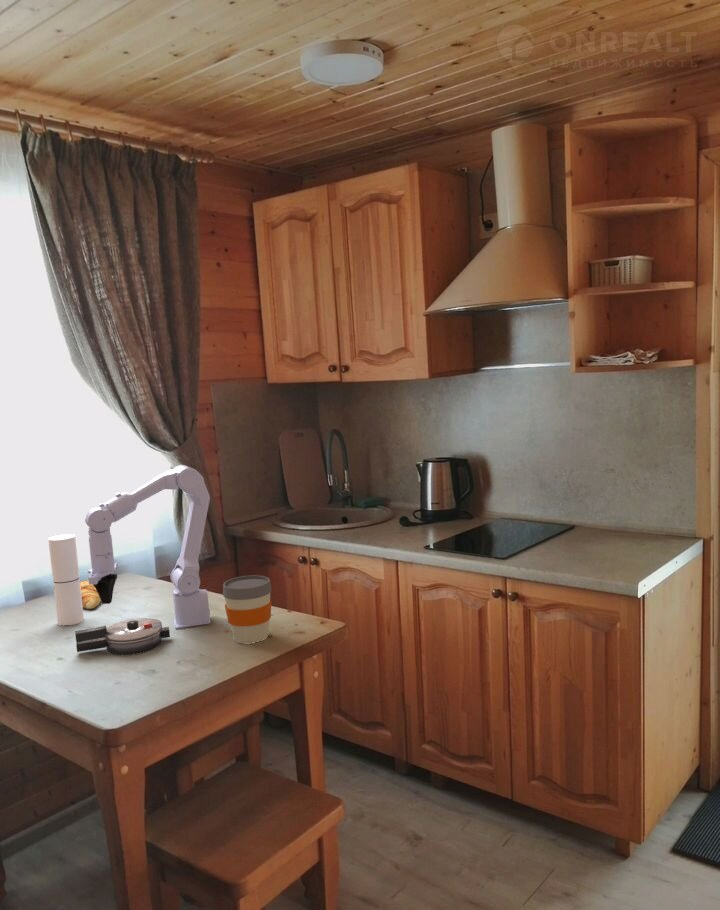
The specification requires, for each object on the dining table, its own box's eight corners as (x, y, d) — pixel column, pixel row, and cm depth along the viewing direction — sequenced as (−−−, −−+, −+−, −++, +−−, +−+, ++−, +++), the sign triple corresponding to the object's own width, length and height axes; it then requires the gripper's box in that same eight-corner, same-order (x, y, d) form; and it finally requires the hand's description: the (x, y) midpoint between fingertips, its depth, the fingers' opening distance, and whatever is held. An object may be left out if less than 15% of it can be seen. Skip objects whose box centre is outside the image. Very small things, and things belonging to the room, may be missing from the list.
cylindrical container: (68, 627, 215) (58, 541, 212) (52, 623, 219) (42, 539, 216) (89, 619, 221) (80, 535, 218) (73, 616, 225) (64, 533, 222)
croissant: (103, 620, 231) (113, 595, 232) (71, 611, 226) (82, 586, 226) (87, 602, 249) (97, 579, 250) (57, 593, 243) (67, 570, 244)
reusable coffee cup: (250, 626, 206) (245, 573, 205) (285, 633, 199) (280, 578, 197) (216, 641, 196) (211, 585, 195) (251, 650, 189) (247, 591, 187)
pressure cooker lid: (157, 618, 207) (157, 609, 206) (166, 634, 193) (165, 625, 193) (74, 633, 198) (73, 624, 198) (77, 651, 185) (76, 641, 185)
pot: (168, 630, 207) (166, 618, 207) (172, 648, 193) (170, 635, 193) (78, 644, 200) (77, 632, 200) (76, 664, 187) (74, 650, 186)
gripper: (98, 547, 208) (103, 595, 210) (75, 561, 194) (80, 612, 195) (123, 546, 207) (128, 594, 209) (101, 560, 193) (107, 611, 195)
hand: (106, 603), depth 202 cm, fingers closed
